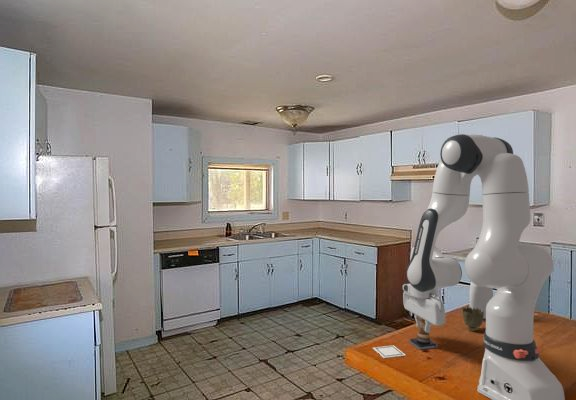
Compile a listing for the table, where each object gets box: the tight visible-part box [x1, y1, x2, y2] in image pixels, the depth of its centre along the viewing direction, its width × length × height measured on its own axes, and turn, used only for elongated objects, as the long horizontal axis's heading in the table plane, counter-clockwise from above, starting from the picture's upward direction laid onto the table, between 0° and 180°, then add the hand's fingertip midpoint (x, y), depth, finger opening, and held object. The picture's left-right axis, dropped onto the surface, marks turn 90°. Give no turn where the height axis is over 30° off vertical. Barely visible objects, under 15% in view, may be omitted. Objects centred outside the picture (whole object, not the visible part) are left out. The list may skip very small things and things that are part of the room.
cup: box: [461, 306, 484, 332], centre depth 144 cm, size 8×7×8 cm
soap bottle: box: [468, 280, 494, 320], centre depth 158 cm, size 14×8×27 cm, turn 122°
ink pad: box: [408, 337, 439, 351], centre depth 131 cm, size 7×7×1 cm
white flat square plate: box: [372, 345, 407, 359], centre depth 125 cm, size 8×8×1 cm
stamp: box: [416, 316, 431, 344], centre depth 130 cm, size 4×4×10 cm
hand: (423, 329), depth 130 cm, fingers closed on stamp, 3 cm apart
